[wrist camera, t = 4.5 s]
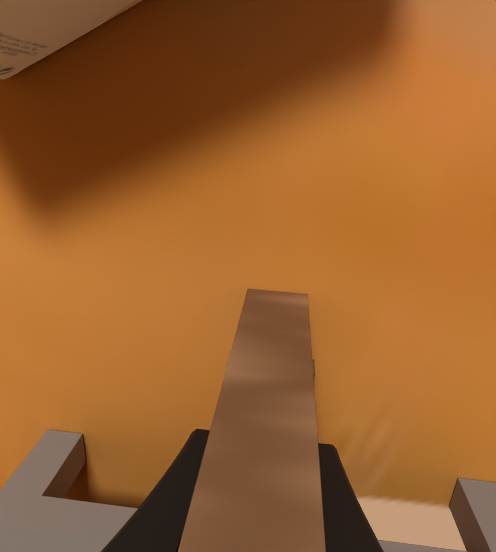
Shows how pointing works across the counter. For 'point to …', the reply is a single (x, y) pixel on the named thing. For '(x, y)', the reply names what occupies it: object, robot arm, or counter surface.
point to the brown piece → (262, 440)
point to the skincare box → (47, 27)
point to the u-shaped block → (110, 518)
